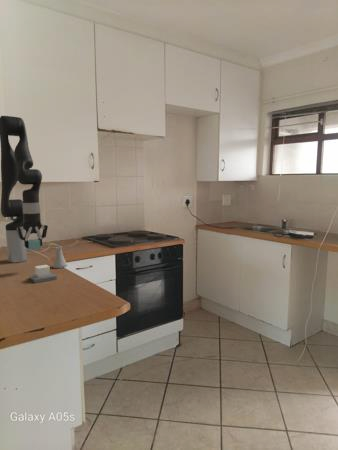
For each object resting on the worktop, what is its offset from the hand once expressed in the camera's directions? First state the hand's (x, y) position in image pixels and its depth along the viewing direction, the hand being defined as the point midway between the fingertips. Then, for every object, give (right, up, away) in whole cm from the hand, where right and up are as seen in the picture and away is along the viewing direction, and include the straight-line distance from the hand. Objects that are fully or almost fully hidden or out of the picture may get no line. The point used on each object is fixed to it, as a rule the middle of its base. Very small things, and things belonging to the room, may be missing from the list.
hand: (33, 247), depth 156 cm
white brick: (+9, -12, -12) cm, 19 cm away
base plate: (+9, -13, -12) cm, 20 cm away
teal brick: (0, -1, 0) cm, 1 cm away
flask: (+10, -11, +9) cm, 17 cm away
